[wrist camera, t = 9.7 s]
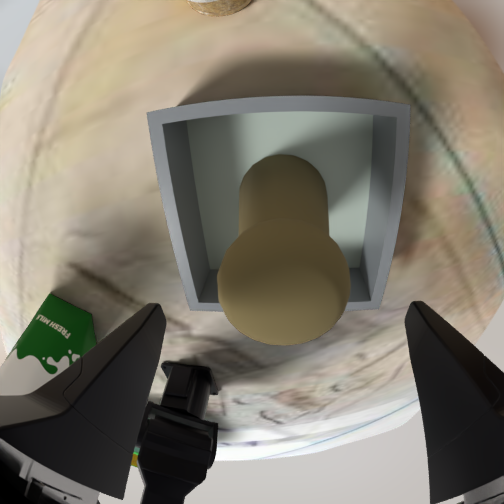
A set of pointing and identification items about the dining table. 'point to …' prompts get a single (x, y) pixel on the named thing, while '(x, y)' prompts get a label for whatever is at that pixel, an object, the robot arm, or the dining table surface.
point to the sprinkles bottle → (218, 6)
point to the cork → (283, 256)
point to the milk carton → (47, 347)
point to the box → (288, 143)
